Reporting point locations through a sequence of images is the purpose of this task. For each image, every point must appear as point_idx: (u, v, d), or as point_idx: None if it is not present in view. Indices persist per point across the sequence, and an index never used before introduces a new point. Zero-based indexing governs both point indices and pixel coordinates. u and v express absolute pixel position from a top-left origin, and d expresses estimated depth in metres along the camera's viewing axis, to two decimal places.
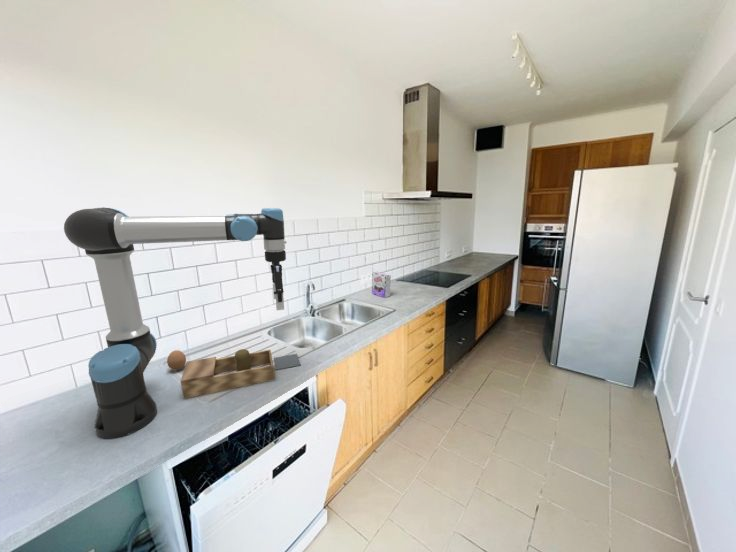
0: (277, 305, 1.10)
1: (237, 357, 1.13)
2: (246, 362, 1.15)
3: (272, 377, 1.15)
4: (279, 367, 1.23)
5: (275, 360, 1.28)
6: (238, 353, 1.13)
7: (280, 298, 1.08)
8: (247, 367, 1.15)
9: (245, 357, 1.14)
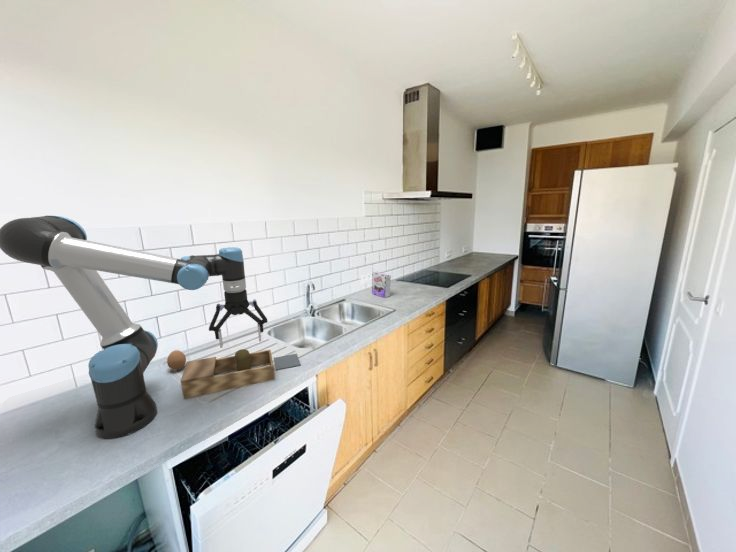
0: None
1: (237, 357, 1.13)
2: (246, 362, 1.15)
3: (272, 377, 1.15)
4: (279, 367, 1.23)
5: (275, 360, 1.28)
6: (238, 353, 1.13)
7: (215, 335, 1.09)
8: (247, 367, 1.15)
9: (245, 357, 1.14)
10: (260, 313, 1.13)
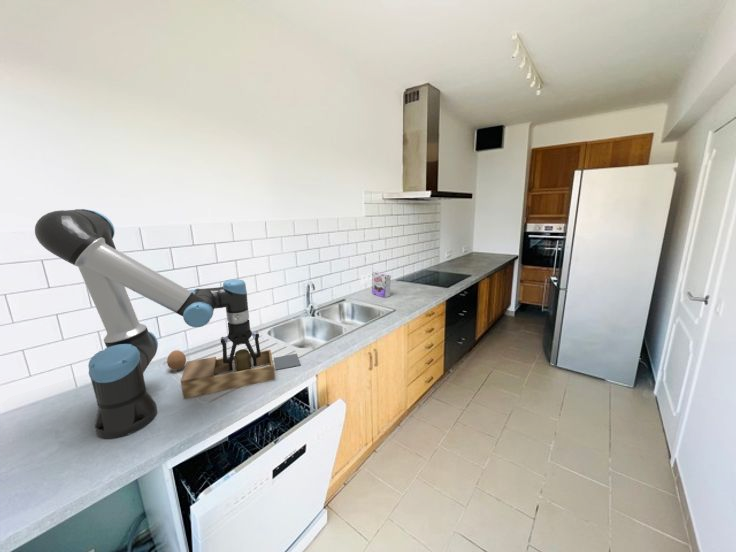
0: None
1: (237, 357, 1.13)
2: (246, 362, 1.15)
3: (272, 377, 1.15)
4: (279, 367, 1.23)
5: (275, 360, 1.28)
6: (238, 353, 1.13)
7: (229, 367, 1.14)
8: (247, 367, 1.15)
9: (245, 357, 1.14)
10: (257, 346, 1.16)
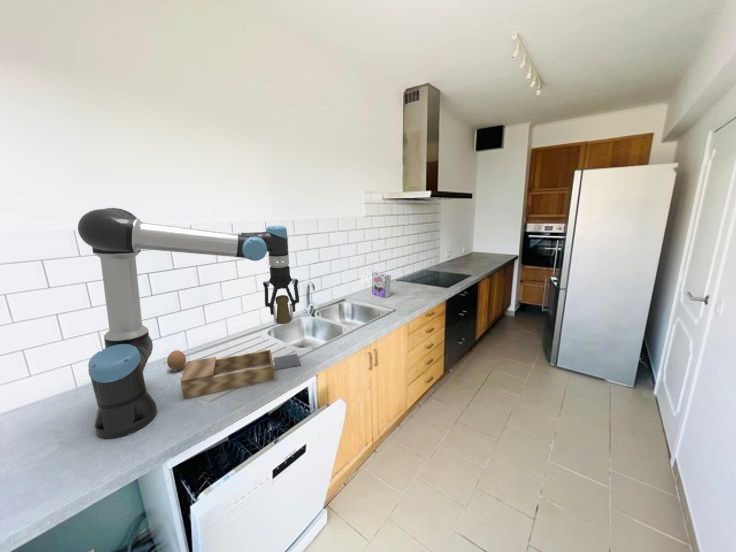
0: None
1: (278, 301, 1.18)
2: (286, 306, 1.20)
3: (272, 377, 1.15)
4: (279, 367, 1.23)
5: (275, 360, 1.28)
6: (279, 297, 1.19)
7: (270, 311, 1.20)
8: (287, 312, 1.21)
9: (285, 301, 1.19)
10: (296, 292, 1.21)
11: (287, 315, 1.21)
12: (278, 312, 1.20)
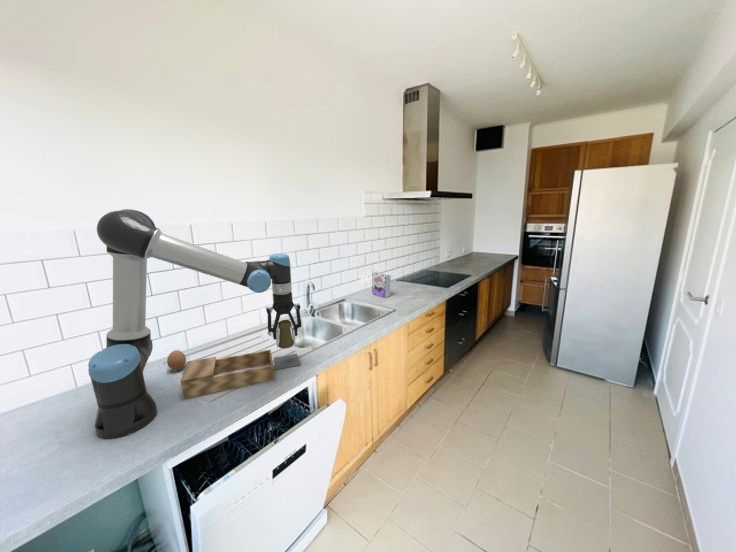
0: (276, 341, 1.25)
1: (281, 326, 1.21)
2: (288, 331, 1.23)
3: (272, 377, 1.15)
4: (279, 367, 1.23)
5: (275, 360, 1.28)
6: (282, 323, 1.22)
7: (273, 336, 1.23)
8: (290, 336, 1.24)
9: (288, 326, 1.22)
10: (299, 317, 1.24)
11: (289, 339, 1.24)
12: (281, 337, 1.23)
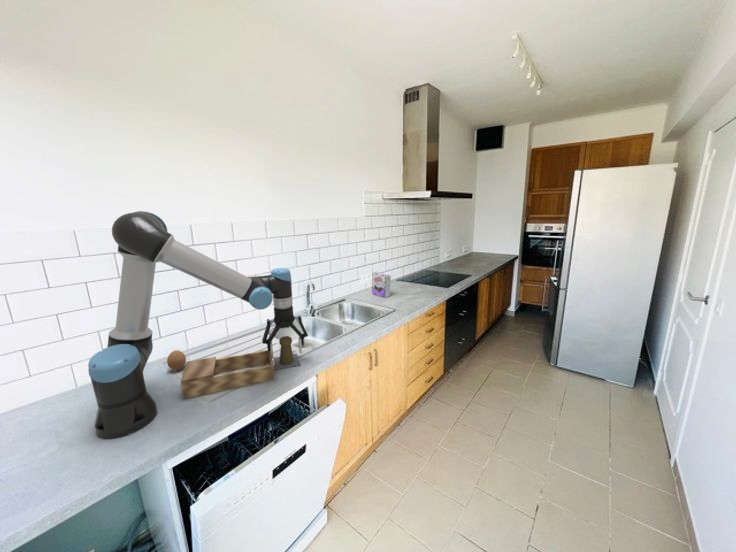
0: None
1: (282, 343, 1.23)
2: (289, 348, 1.25)
3: (272, 377, 1.15)
4: (279, 367, 1.23)
5: (275, 360, 1.28)
6: (283, 339, 1.23)
7: (267, 347, 1.23)
8: (290, 353, 1.25)
9: (289, 343, 1.24)
10: (303, 327, 1.26)
11: (290, 356, 1.25)
12: (281, 353, 1.24)
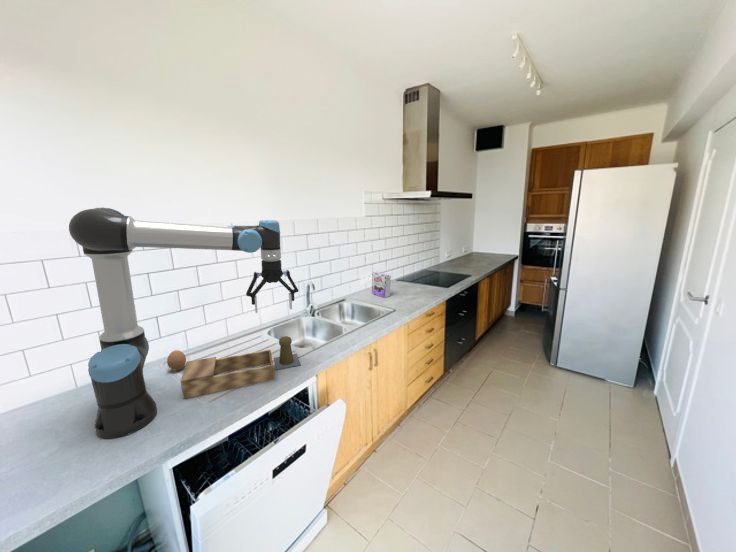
0: None
1: (281, 343, 1.23)
2: (289, 348, 1.25)
3: (272, 377, 1.15)
4: (279, 367, 1.23)
5: (275, 360, 1.28)
6: (282, 339, 1.23)
7: None
8: (290, 353, 1.25)
9: (288, 343, 1.24)
10: (292, 282, 1.22)
11: (290, 356, 1.25)
12: (281, 353, 1.24)
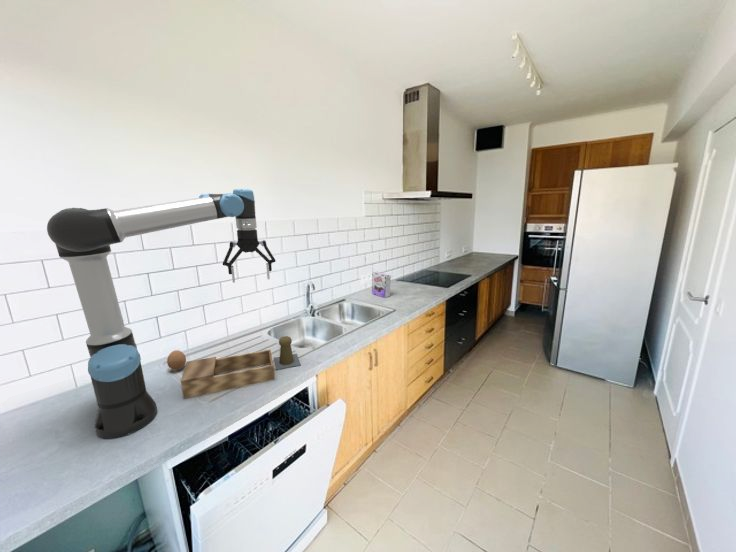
0: None
1: (281, 343, 1.23)
2: (289, 348, 1.25)
3: (272, 377, 1.15)
4: (279, 367, 1.23)
5: (275, 360, 1.28)
6: (282, 339, 1.23)
7: (228, 270, 1.20)
8: (290, 353, 1.25)
9: (288, 343, 1.24)
10: (269, 252, 1.24)
11: (290, 356, 1.25)
12: (281, 353, 1.24)
